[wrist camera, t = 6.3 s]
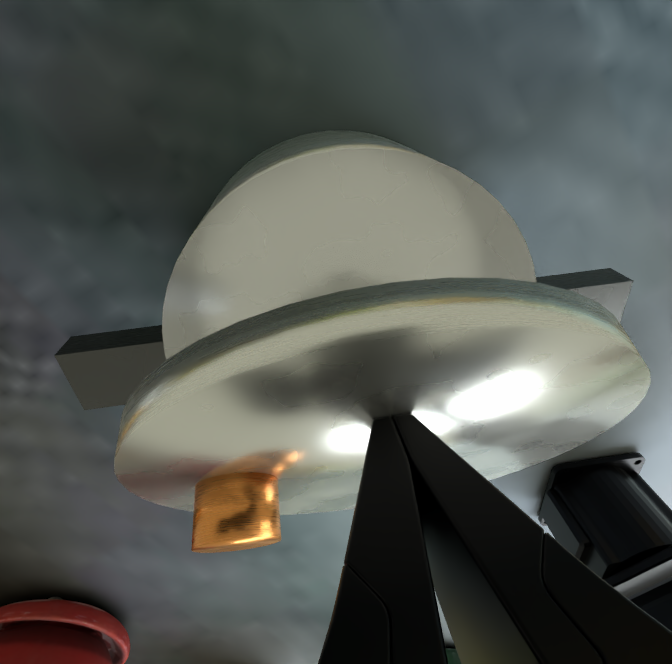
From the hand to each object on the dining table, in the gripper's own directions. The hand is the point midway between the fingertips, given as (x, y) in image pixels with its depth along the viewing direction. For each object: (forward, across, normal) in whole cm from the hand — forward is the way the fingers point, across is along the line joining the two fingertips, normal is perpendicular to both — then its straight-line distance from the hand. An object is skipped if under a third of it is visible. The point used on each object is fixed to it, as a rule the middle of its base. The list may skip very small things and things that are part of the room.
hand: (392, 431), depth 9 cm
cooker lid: (+2, 0, +2) cm, 3 cm away
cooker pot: (+12, 0, +1) cm, 12 cm away
